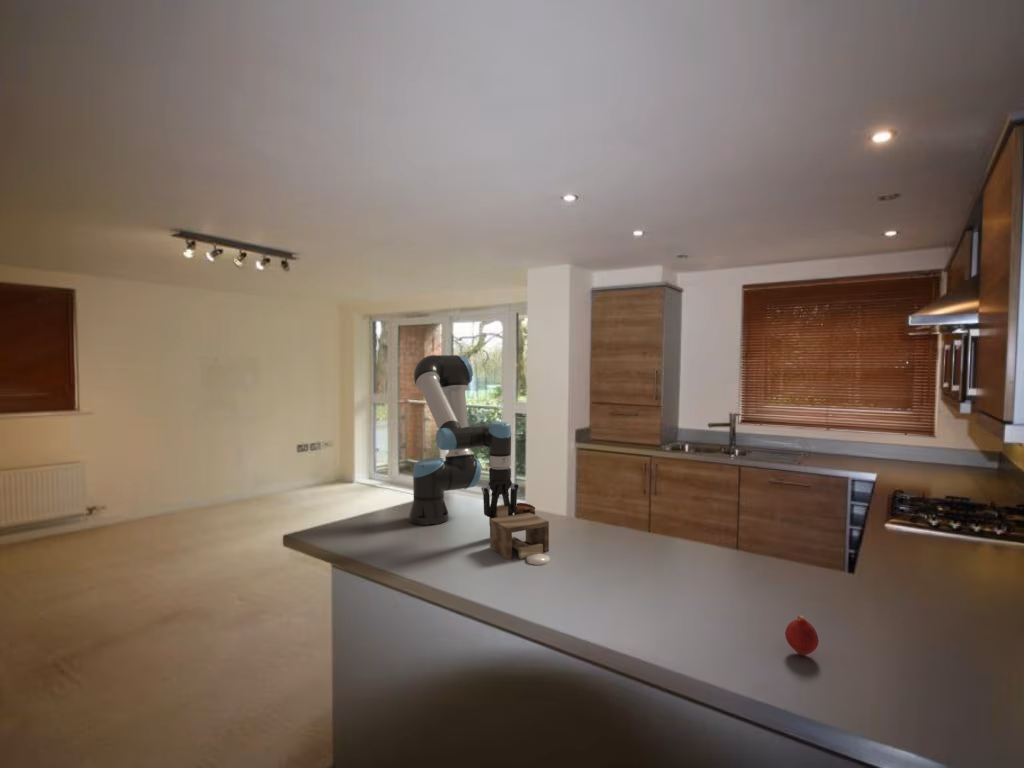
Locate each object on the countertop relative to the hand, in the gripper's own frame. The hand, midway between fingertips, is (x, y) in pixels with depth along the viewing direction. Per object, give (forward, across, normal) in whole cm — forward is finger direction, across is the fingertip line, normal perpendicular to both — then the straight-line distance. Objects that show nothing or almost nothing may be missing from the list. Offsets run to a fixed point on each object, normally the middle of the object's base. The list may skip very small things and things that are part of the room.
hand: (500, 534), depth 179 cm
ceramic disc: (+2, 0, -24) cm, 25 cm away
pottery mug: (+1, +17, +12) cm, 21 cm away
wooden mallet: (+1, 0, -9) cm, 10 cm away
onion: (+1, +19, -95) cm, 97 cm away
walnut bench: (+1, 0, -13) cm, 13 cm away
